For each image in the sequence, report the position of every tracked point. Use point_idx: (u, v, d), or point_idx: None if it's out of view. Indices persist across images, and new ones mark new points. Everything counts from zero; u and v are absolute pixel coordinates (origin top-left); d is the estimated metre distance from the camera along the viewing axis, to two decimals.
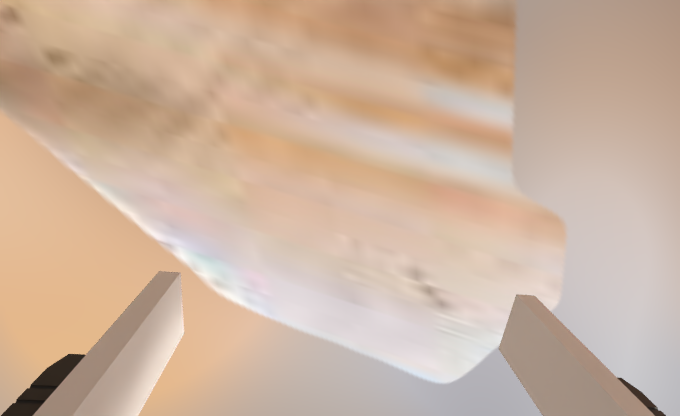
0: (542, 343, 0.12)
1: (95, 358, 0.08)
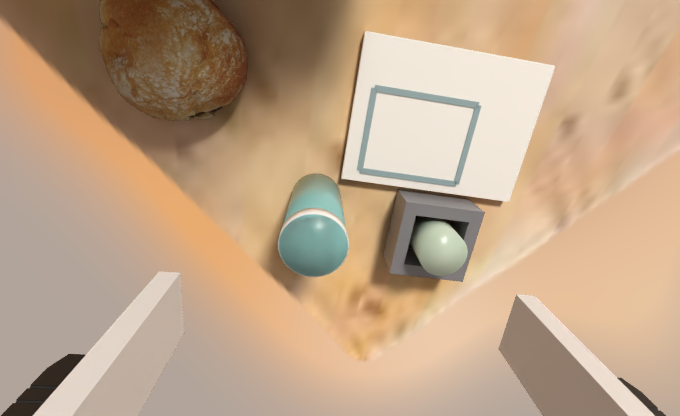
0: (542, 343, 0.12)
1: (95, 358, 0.08)
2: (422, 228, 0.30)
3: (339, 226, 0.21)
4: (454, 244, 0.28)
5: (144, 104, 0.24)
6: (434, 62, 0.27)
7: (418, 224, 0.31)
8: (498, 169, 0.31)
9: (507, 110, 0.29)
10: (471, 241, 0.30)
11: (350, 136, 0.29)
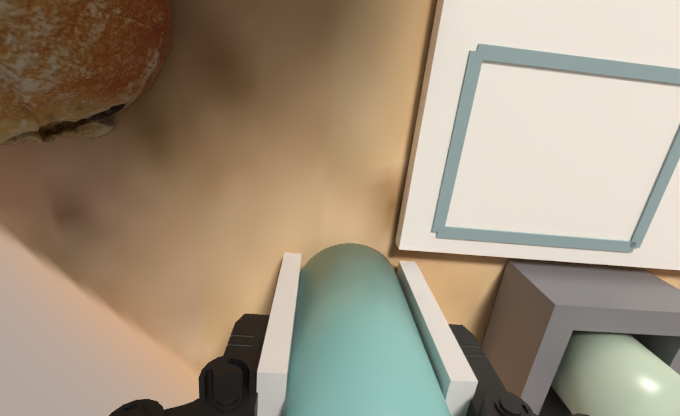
0: (407, 299, 0.13)
1: (279, 313, 0.11)
2: (584, 354, 0.14)
3: None
4: None
5: None
6: None
7: None
8: None
9: None
10: None
11: (419, 163, 0.13)
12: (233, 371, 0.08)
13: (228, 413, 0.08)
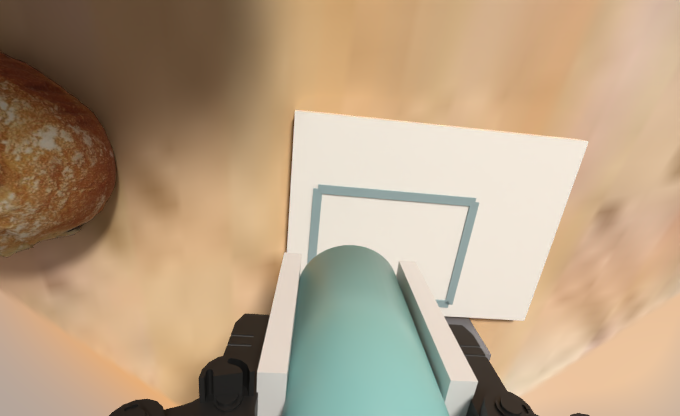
0: (406, 299, 0.13)
1: (279, 313, 0.11)
2: None
3: None
4: None
5: None
6: (405, 148, 0.18)
7: None
8: (507, 282, 0.22)
9: (518, 206, 0.20)
10: None
11: None
12: (233, 371, 0.08)
13: (228, 413, 0.08)
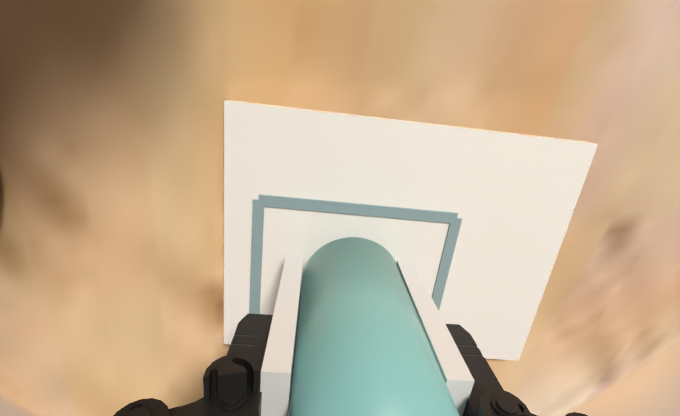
0: None
1: (282, 313, 0.11)
2: None
3: None
4: None
5: None
6: (367, 150, 0.14)
7: None
8: (498, 315, 0.18)
9: (510, 223, 0.16)
10: None
11: (228, 280, 0.16)
12: (237, 371, 0.08)
13: (232, 412, 0.08)
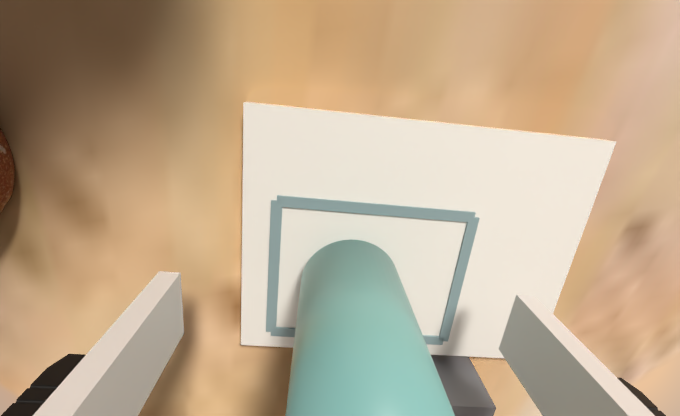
0: (542, 343, 0.12)
1: (95, 358, 0.08)
2: None
3: None
4: None
5: None
6: (385, 150, 0.14)
7: None
8: None
9: (527, 222, 0.16)
10: None
11: (245, 281, 0.16)
12: None
13: None
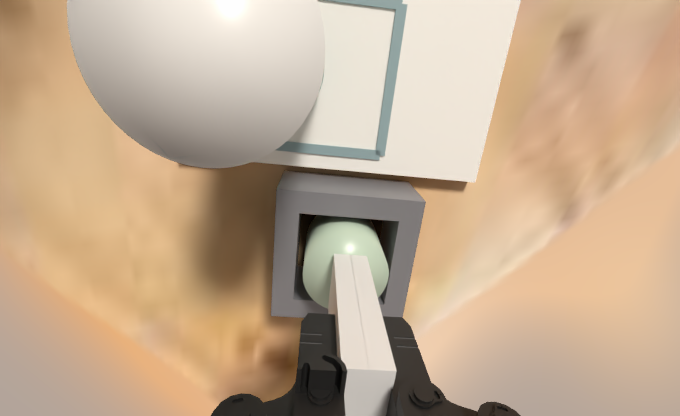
0: None
1: (346, 313, 0.11)
2: (315, 229, 0.17)
3: None
4: (361, 255, 0.15)
5: None
6: None
7: (315, 222, 0.18)
8: (451, 126, 0.18)
9: (457, 12, 0.16)
10: (407, 255, 0.17)
11: None
12: (328, 368, 0.08)
13: (321, 407, 0.08)
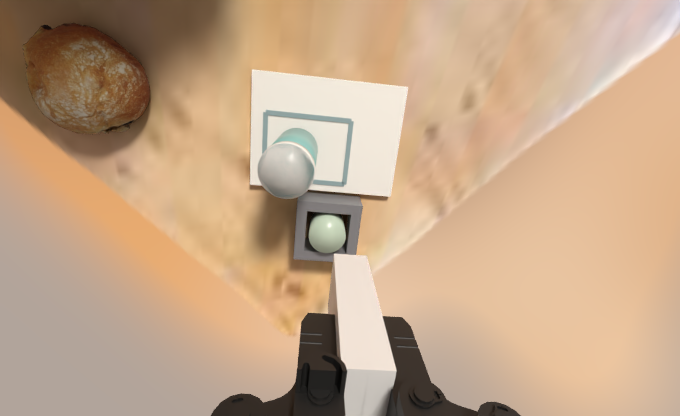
0: None
1: (346, 313, 0.11)
2: (314, 217, 0.38)
3: (307, 154, 0.26)
4: (333, 227, 0.36)
5: (62, 123, 0.31)
6: (310, 90, 0.35)
7: (314, 214, 0.39)
8: (377, 171, 0.38)
9: (375, 123, 0.36)
10: (356, 230, 0.38)
11: (252, 150, 0.37)
12: (328, 368, 0.08)
13: (321, 407, 0.08)
